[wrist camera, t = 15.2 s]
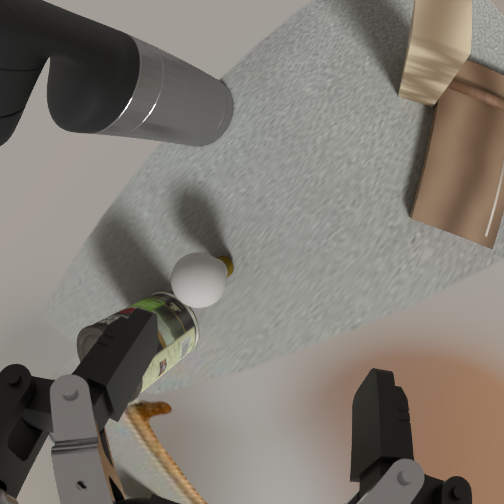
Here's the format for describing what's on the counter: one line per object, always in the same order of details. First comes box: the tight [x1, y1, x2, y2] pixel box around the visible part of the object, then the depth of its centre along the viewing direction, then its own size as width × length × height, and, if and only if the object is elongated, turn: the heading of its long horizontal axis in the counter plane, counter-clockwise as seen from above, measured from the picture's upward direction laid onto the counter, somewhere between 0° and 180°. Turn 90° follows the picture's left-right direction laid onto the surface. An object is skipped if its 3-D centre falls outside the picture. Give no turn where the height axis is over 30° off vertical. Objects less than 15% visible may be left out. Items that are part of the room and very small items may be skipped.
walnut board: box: [409, 60, 504, 249], centre depth 26 cm, size 10×19×2 cm, turn 167°
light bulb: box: [171, 252, 234, 308], centre depth 36 cm, size 6×6×10 cm
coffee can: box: [77, 292, 199, 403], centre depth 40 cm, size 10×10×14 cm
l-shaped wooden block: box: [398, 0, 504, 111], centre depth 19 cm, size 14×5×16 cm, turn 77°
